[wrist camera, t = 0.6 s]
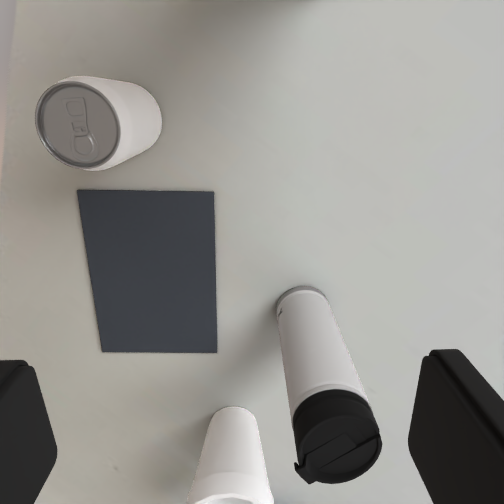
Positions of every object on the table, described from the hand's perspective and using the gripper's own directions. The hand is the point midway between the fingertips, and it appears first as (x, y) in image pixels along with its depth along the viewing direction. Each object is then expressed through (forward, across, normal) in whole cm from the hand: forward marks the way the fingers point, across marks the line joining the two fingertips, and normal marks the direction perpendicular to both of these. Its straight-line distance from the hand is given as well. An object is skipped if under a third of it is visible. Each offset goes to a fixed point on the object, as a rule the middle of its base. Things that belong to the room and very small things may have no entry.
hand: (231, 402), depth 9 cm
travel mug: (+32, -6, +16) cm, 36 cm away
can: (+32, +11, -6) cm, 34 cm away
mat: (+32, +10, +12) cm, 35 cm away
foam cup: (+32, +2, +34) cm, 46 cm away
